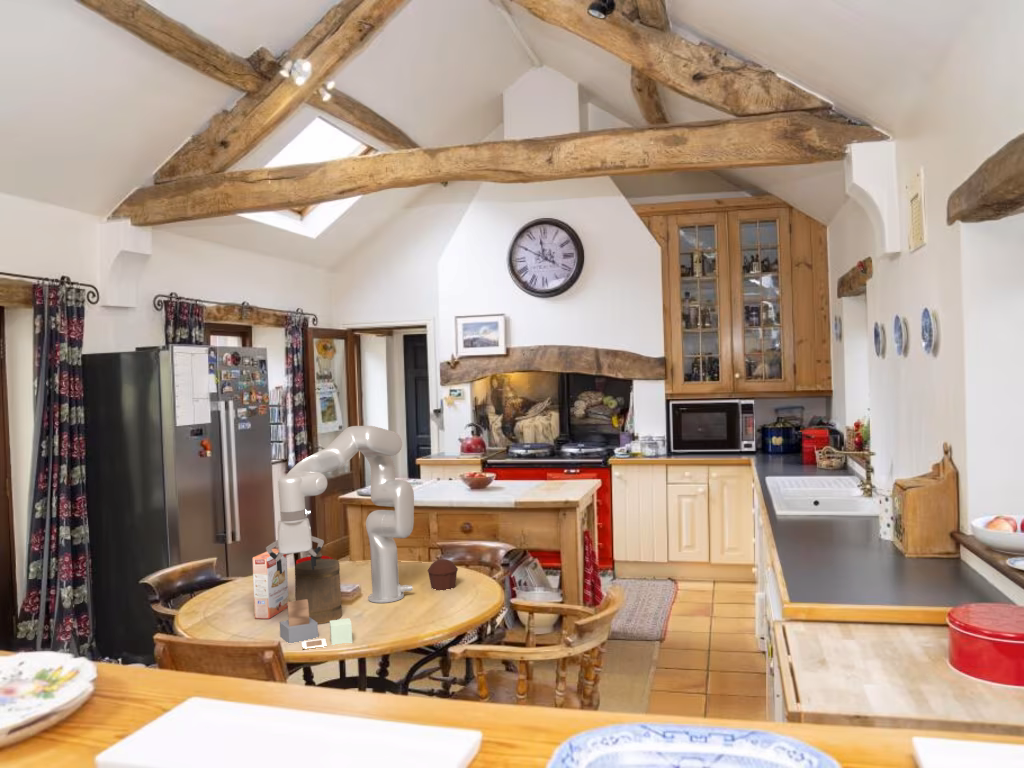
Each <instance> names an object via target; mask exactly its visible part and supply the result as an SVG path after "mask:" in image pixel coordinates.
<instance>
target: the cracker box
mask: <svg viewBox="0 0 1024 768" xmlns="http://www.w3.org/2000/svg"><path fill="white" fill-rule="evenodd" d="M272 551H273V552H274V553H275V554H276V555H277V554H278V553H279V549H278V548H273V549H272ZM280 559H281V564H282V573H281V574H280V571H277V562H276V560H275V559H273V558H272V557H271V556H270V555H269V553H268V552H267V551H265V552H262V553H260V554H257V555H256V556H253V557H252V579H253V580H252V582H253V585H252V586H253V604H254V605H253V606H254V608H253V609H254V619H262V620H263V619H264V620H270V619H272V618H273V617H274V616H276V615H278V614H279V613H281V612H282V611H284V610H286V609H288V602H289V581H288V579H289V578H288V554H283V556H282V557H281V558H280Z"/></svg>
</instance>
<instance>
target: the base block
mask: <svg viewBox="0 0 1024 768" xmlns="http://www.w3.org/2000/svg"><path fill="white" fill-rule="evenodd" d="M279 634H280V636H279V637H280V638H281V639H282V640H283V641H284V642H286V643H287V642H288V643H294V642H298V643H300V642H299V641H302V642H303V641H304V640H307V641H309V640H308V639H311V640H314V639H313V638H315V639H317V638H316V637H318V638H319V624H318V623H317V622H316V621H314V620H313V619H312V618H310V617H309V624H304V625H297V626H289V620H288V619H287V620H282V621H279ZM288 643H287V644H288ZM294 644H295V643H294Z"/></svg>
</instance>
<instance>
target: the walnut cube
mask: <svg viewBox="0 0 1024 768" xmlns="http://www.w3.org/2000/svg"><path fill="white" fill-rule="evenodd" d="M288 601H289V600H288ZM287 615H288V616H287V617H288V619H287V620H289V626H297V625H304V624H309V607H308V600H307V599H305V600H297V601H296V600H291V601H289V602H288V608H287Z"/></svg>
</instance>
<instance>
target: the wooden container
mask: <svg viewBox="0 0 1024 768" xmlns="http://www.w3.org/2000/svg"><path fill="white" fill-rule="evenodd" d="M322 556H323V554H322V552H319V553H318V554H317V555H316V566H314V570H313V569H312V567H311V560H308V561H304V562H301V563H298V564H296V563H295V565H294V579H295V580H294V581H295V583H294V587H295V588H294V589H295V591H294V592H295V594H294V595H295V598H294V601H297V600H305V599H307V600H308V607H309V617H310V618H312V619H313V620H314V621H316V622H317V623H318V625H324V624H327V622H328V623H330V621H332V620H336V619H337V620H339V619H341V618H342V616H343V612H342V611H343V609H342V608H343V607H342V606H343V605H342V590H341V575H340V574H341V573H340V571H341V569H340V567H341V566H340V561H339V560H337V559H334V558H333V559H322V558H321V557H322ZM338 618H339V619H338Z"/></svg>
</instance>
